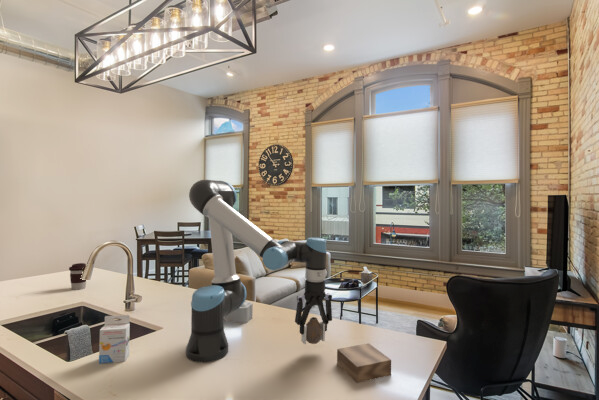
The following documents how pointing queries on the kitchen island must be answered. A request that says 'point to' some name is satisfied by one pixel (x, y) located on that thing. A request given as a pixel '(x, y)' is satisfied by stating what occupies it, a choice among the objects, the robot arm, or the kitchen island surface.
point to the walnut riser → (363, 362)
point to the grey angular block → (241, 314)
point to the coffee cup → (77, 276)
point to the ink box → (114, 339)
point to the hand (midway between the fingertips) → (312, 340)
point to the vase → (313, 331)
